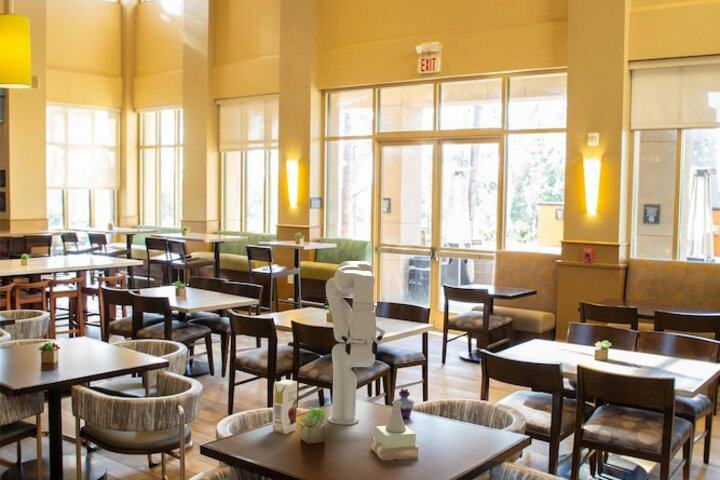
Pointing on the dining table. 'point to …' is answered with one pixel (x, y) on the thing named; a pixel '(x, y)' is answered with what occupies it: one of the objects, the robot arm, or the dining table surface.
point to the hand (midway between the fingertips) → (361, 353)
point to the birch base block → (394, 451)
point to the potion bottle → (405, 404)
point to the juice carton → (284, 406)
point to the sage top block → (395, 437)
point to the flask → (396, 419)
